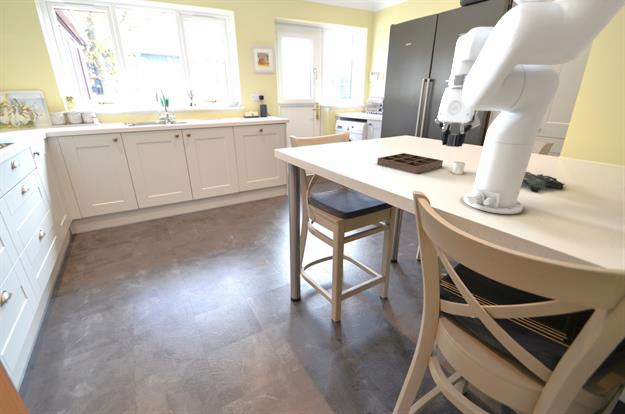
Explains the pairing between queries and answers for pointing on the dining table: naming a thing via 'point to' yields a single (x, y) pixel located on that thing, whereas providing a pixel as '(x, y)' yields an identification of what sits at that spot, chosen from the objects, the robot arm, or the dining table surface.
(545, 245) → the dining table surface
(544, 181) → the decorative rock
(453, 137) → the black stone
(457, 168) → the white stone
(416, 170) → the board
